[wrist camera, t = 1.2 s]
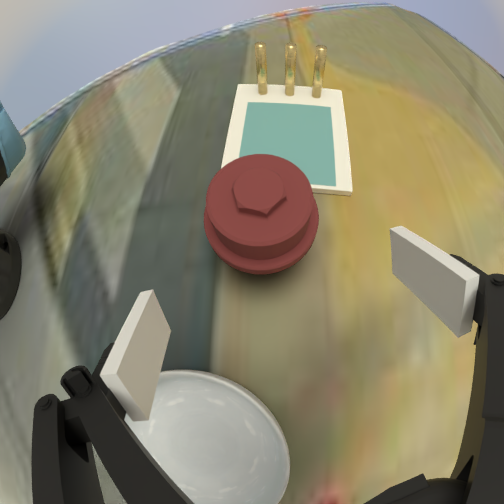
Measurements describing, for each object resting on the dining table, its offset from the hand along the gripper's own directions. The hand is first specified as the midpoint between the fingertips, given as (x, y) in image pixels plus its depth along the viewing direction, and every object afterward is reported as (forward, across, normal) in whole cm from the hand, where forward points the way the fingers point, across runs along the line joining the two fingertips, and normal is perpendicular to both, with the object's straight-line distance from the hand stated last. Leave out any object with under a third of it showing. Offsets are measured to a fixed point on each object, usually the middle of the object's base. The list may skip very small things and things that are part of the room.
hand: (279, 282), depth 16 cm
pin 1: (+33, +6, +14) cm, 36 cm away
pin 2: (+32, +10, +13) cm, 36 cm away
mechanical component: (+18, 0, -5) cm, 18 cm away
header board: (+28, +7, +7) cm, 30 cm away
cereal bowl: (+5, -11, -19) cm, 22 cm away
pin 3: (+31, +14, +12) cm, 36 cm away
